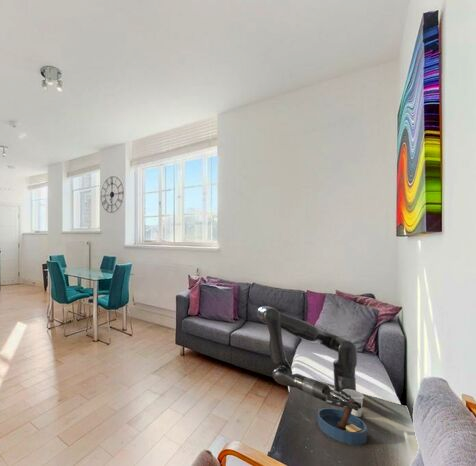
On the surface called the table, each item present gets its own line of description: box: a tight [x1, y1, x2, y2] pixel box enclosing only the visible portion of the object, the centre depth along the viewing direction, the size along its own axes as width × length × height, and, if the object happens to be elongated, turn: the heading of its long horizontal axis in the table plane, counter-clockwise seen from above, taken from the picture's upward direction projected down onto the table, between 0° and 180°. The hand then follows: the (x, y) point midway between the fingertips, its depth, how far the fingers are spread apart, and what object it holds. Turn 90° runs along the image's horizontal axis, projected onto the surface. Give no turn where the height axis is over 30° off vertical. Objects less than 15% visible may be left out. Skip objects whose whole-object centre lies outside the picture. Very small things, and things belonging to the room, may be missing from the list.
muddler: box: [337, 398, 355, 431], centre depth 123 cm, size 4×4×15 cm
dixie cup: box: [342, 389, 365, 418], centre depth 138 cm, size 8×8×10 cm
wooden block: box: [346, 424, 362, 432], centre depth 121 cm, size 4×4×4 cm
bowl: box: [317, 407, 368, 446], centre depth 125 cm, size 17×17×6 cm
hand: (359, 407), depth 119 cm, fingers closed on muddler, 2 cm apart
